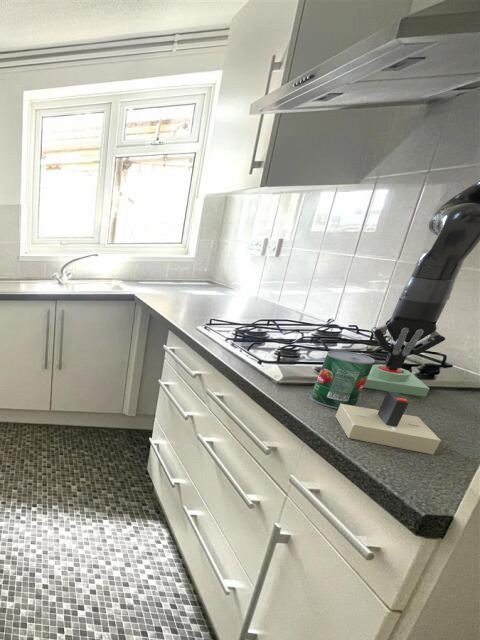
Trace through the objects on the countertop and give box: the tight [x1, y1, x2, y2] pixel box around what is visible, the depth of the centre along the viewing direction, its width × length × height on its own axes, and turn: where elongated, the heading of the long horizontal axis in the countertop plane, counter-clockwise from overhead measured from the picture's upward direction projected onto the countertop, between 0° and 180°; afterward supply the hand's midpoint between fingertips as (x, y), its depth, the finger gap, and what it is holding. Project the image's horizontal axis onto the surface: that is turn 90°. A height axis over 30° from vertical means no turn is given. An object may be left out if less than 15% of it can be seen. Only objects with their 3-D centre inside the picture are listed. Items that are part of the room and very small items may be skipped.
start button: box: [380, 366, 403, 373], centre depth 101 cm, size 4×4×2 cm
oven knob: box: [378, 391, 409, 427], centre depth 78 cm, size 5×2×5 cm, turn 152°
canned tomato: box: [309, 350, 376, 410], centre depth 91 cm, size 8×8×11 cm
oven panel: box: [335, 404, 442, 456], centre depth 80 cm, size 12×10×3 cm
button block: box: [363, 363, 430, 398], centre depth 102 cm, size 12×10×4 cm
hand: (391, 368), depth 101 cm, fingers closed
